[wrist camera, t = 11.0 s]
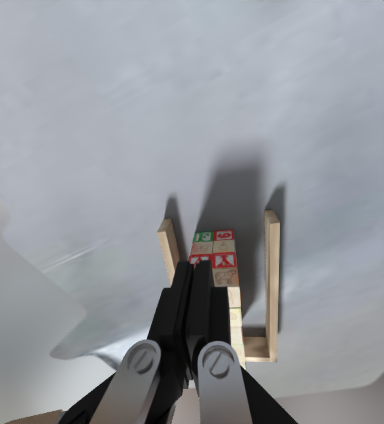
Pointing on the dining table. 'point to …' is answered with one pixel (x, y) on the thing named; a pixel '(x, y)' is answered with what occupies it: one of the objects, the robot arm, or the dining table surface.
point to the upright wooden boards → (265, 346)
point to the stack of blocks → (223, 276)
